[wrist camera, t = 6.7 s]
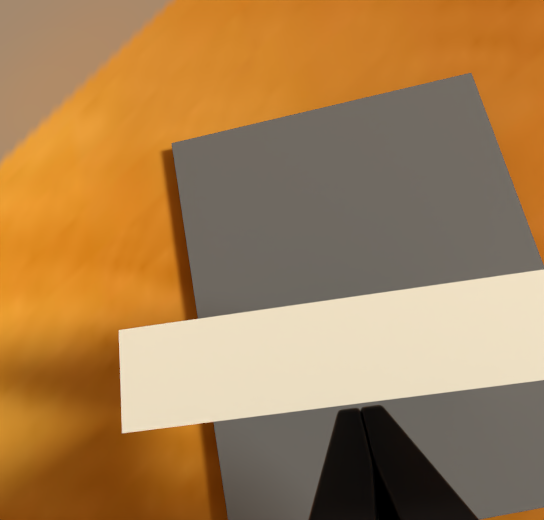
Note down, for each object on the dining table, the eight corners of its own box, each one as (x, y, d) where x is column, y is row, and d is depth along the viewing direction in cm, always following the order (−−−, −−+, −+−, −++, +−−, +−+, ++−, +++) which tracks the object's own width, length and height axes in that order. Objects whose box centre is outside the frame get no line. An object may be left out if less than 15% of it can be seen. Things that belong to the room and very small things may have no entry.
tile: (459, 382, 15) (628, 369, 7) (232, 411, 16) (121, 433, 7) (447, 330, 16) (591, 256, 7) (227, 360, 16) (118, 323, 8)
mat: (616, 487, 15) (628, 491, 14) (238, 558, 15) (234, 564, 15) (466, 82, 19) (471, 72, 18) (176, 150, 20) (171, 143, 19)
